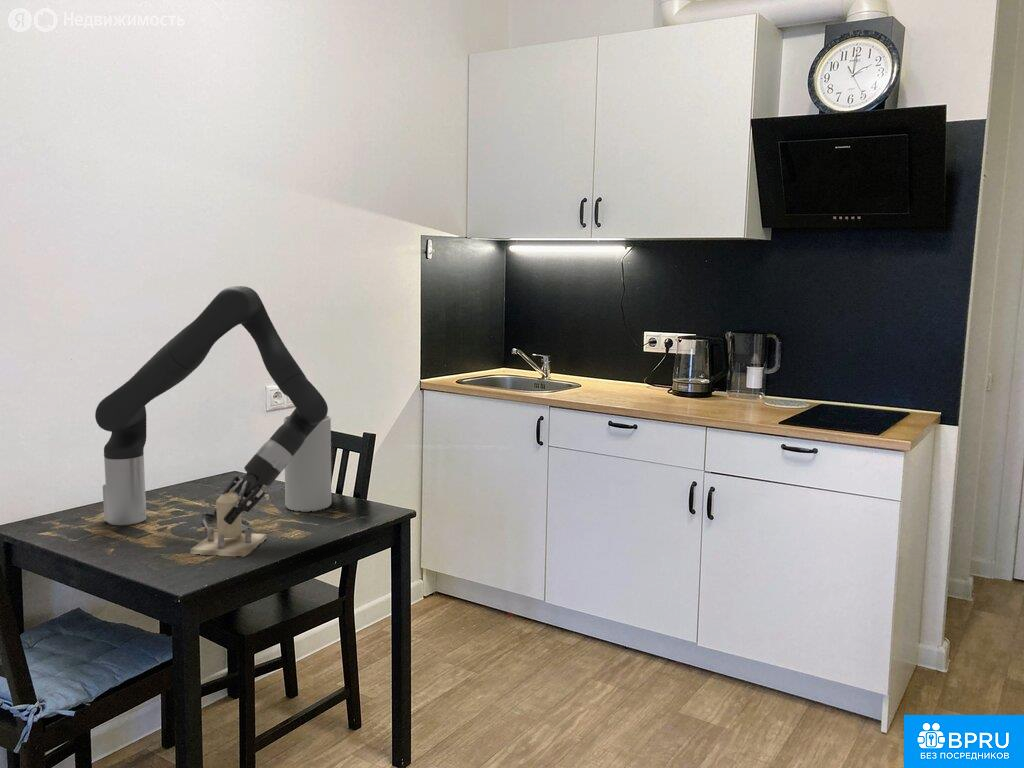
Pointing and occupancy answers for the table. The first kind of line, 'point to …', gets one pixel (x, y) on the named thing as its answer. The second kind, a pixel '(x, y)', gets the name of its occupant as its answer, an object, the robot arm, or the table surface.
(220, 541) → the candle plate
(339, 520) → the table surface
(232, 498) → the candle
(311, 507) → the cylinder vase
